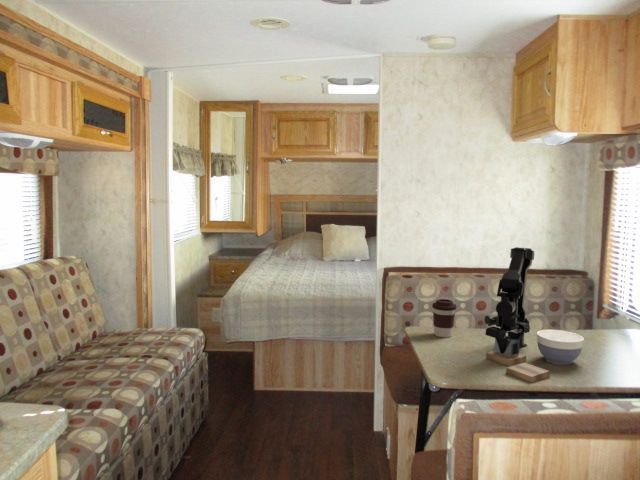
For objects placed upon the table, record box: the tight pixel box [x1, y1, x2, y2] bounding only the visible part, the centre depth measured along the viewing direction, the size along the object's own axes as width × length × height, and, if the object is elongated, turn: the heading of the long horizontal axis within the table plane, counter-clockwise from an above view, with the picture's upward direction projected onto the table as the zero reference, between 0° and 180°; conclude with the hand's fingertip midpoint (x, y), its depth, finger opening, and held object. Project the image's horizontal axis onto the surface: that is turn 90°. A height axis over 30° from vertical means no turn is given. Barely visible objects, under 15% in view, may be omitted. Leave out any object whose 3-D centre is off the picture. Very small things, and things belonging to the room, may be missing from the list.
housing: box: [493, 335, 520, 358], centre depth 205 cm, size 5×7×6 cm
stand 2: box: [505, 362, 550, 384], centre depth 190 cm, size 10×10×2 cm
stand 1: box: [485, 350, 527, 367], centre depth 205 cm, size 10×10×2 cm
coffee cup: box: [431, 298, 458, 338], centre depth 234 cm, size 10×10×15 cm
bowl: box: [536, 329, 585, 366], centre depth 205 cm, size 16×16×10 cm
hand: (506, 352), depth 205 cm, fingers closed on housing, 5 cm apart
